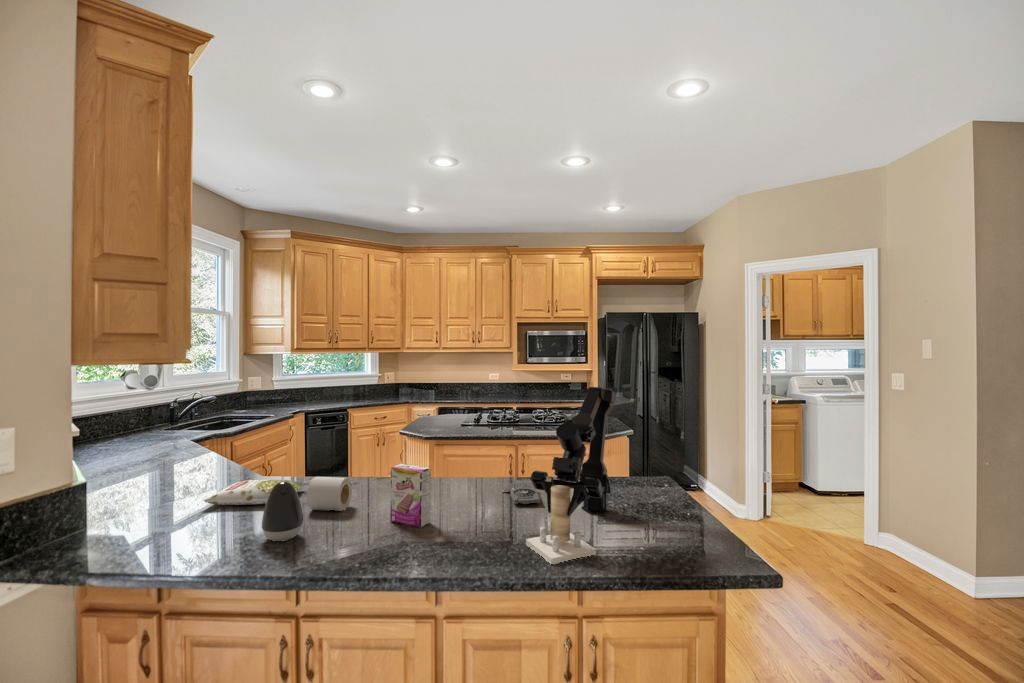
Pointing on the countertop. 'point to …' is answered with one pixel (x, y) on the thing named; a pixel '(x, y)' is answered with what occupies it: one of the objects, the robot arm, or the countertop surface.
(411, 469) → the candy bar box
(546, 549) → the pin plate
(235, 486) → the frozen beans
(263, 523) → the aroma diffuser
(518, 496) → the graphics card
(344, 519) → the countertop surface
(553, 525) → the maple post
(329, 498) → the toilet paper
